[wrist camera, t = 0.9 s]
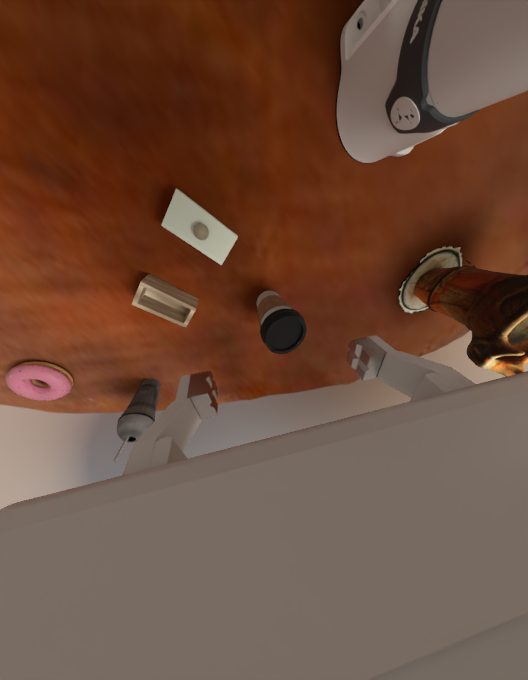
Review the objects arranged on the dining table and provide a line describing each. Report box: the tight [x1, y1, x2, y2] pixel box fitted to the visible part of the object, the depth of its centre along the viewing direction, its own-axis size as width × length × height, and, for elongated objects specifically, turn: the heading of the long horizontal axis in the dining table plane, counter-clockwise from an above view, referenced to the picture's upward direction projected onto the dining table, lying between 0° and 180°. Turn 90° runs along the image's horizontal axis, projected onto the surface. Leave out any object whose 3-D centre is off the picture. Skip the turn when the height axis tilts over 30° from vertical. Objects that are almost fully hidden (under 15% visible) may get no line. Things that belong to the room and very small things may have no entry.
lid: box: [161, 189, 238, 265], centre depth 32 cm, size 6×11×5 cm, turn 53°
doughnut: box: [6, 362, 73, 401], centre depth 43 cm, size 11×11×4 cm
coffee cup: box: [256, 291, 306, 354], centre depth 39 cm, size 8×8×15 cm
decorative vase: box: [398, 246, 528, 377], centre depth 40 cm, size 21×23×28 cm
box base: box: [132, 274, 198, 328], centre depth 37 cm, size 5×10×5 cm, turn 54°
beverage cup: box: [113, 379, 161, 462], centre depth 44 cm, size 7×7×20 cm
